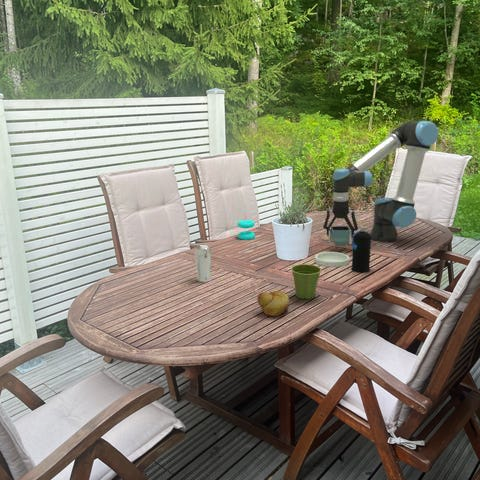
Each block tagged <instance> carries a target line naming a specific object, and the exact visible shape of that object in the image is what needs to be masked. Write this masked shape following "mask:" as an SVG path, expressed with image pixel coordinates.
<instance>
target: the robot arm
mask: <svg viewBox="0 0 480 480" xmlns="http://www.w3.org/2000/svg"><path fill="white" fill-rule="evenodd" d="M438 139H439V129H438V127H437V125H436V124H435V123H434V122H432V121H428V120H409V121H406V122H404V123H402V124H400V125H398V126H397V127H396V128H395V129H393V130H392V131H390V133H388V134H387V137H386V138H385V139H383V140H382V141H381V142H379V143H378V144H377V145H375V146H374V147H373V148H372V149H370V150H369V151H367V152H366V153H364V154H363V155H362V156H361V157H360V158H358V159H357V160H356V161H355V162H353V163H352V164H351V165H349V166H347V167H345V168H343V167H342V168H336V169H335V170H334V171H333V178H332V180H333V196H332V197H333V198H332V199H333V201H332V203H333V204H332V207H333V208H332V209H327V211H326V218H325V220H324V224H323V227H322V228H323V229H324V230H326V236H327V237H328V243H329V244H330V243H331V242H332V233H331V226H333V223H335V221H336V219H344V221H346V224H347V226H348V227H349V229H350V235H349V240H348V243H349V245H352V244H353V235H354V234H355V231H356V232H358V230H359V227H358V224H357V223H358V222H357V219H356V216H355V214H356V212H355V210H349V199H350V193H349V192H350V188H351V189H352V188H359V187H360V188H361V187H364V188H365V187H369V186H371V184H372V183H373V175H372V172H370V171H369V170H370V169H371V168H372V167H373V166H375V165H377V164H378V163H379V162H381V160H383V159H384V158H385V157H387V156H388V155H389V154H391V153H392V152H394V151H395V150H396V149H401V148H402V147H404V146H405V148H406V149H407V151H406V155H405V159H404V163H403V167H402V171H401V175H400V178H399V182H398V186H397V190H396V192H395V193H396V194H395V196H393V197H380V198H376V199H375V200H374V205H373V206H374V210H373V211H374V212H373V224H372V227H371V231H369V234H370V235H371V236H372V238H371V241H376V242H381V243H382V242H383V243H390V242H396V241H397V240H398V238H399V235H398V231H397V227H399V228H408V227H410V226H411V225H412V224H414V222H415V221H416V218H417V212H416V209H415V208H414V207H415V204H416V203H415V201H414V196H415V192H416V189H417V185H418V181H419V177H420V174H421V170H422V167H423V162H424V159H425V157H426V156H425V155H426V153H427V152H430V149H431V147H432V146H433V144H435V143H436V142H437V140H438ZM331 214H333V218H332V220H331V221H330V223H329V224H328V222H329V220H330V218H331ZM348 215H350V216H351V220H352V221H350V219H349V216H348Z"/></svg>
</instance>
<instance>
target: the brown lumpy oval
mask: <svg viewBox="0 0 480 480" xmlns="http://www.w3.org/2000/svg"><path fill="white" fill-rule="evenodd" d="M256 298H257V300H256V301H257V303H258V305H259V306H260V308H261V311H262V312H263V313H264V315H267V316H270V317H278V316H280V315H281V314H282V313H284V312H286V311H287V310H288V309H289V306H290V298H289V296H288V295H287V294H286V293H285V291H280V290H273V291H270V292H260V293H258V295H257V297H256Z"/></svg>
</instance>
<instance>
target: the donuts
mask: <svg viewBox="0 0 480 480" xmlns="http://www.w3.org/2000/svg"><path fill="white" fill-rule="evenodd" d="M255 225H256V224H255V221H254V220H251V219H244V220H243V219H241V220H239V221H238V222H237V227H239V228H240V229H243V230H244V229H245V230H244V231H243V230H242V231H240V232H239V233H238V234H237V238H238V239H240V240H241V241H249V240H253V239H255V237H256V235H255V234H256V233H254V232H253V231H251V230H249V229H252V228H254V227H255ZM246 229H248V230H246Z"/></svg>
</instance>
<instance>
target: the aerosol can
mask: <svg viewBox="0 0 480 480" xmlns="http://www.w3.org/2000/svg"><path fill="white" fill-rule="evenodd" d="M371 238H372V236H371V235H370V232H367V231H366V227H365V226H362V225H361V226H360V229H359V231H356V232H354V235H353V237H352V254H351V255H352V256H351V257H352V260H351V267H350V269H351V271H352V272H355V273H362V274H363V273H368V272H369V271H371V269H370V265H371V262H370V261H371V246H372V239H371Z"/></svg>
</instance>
